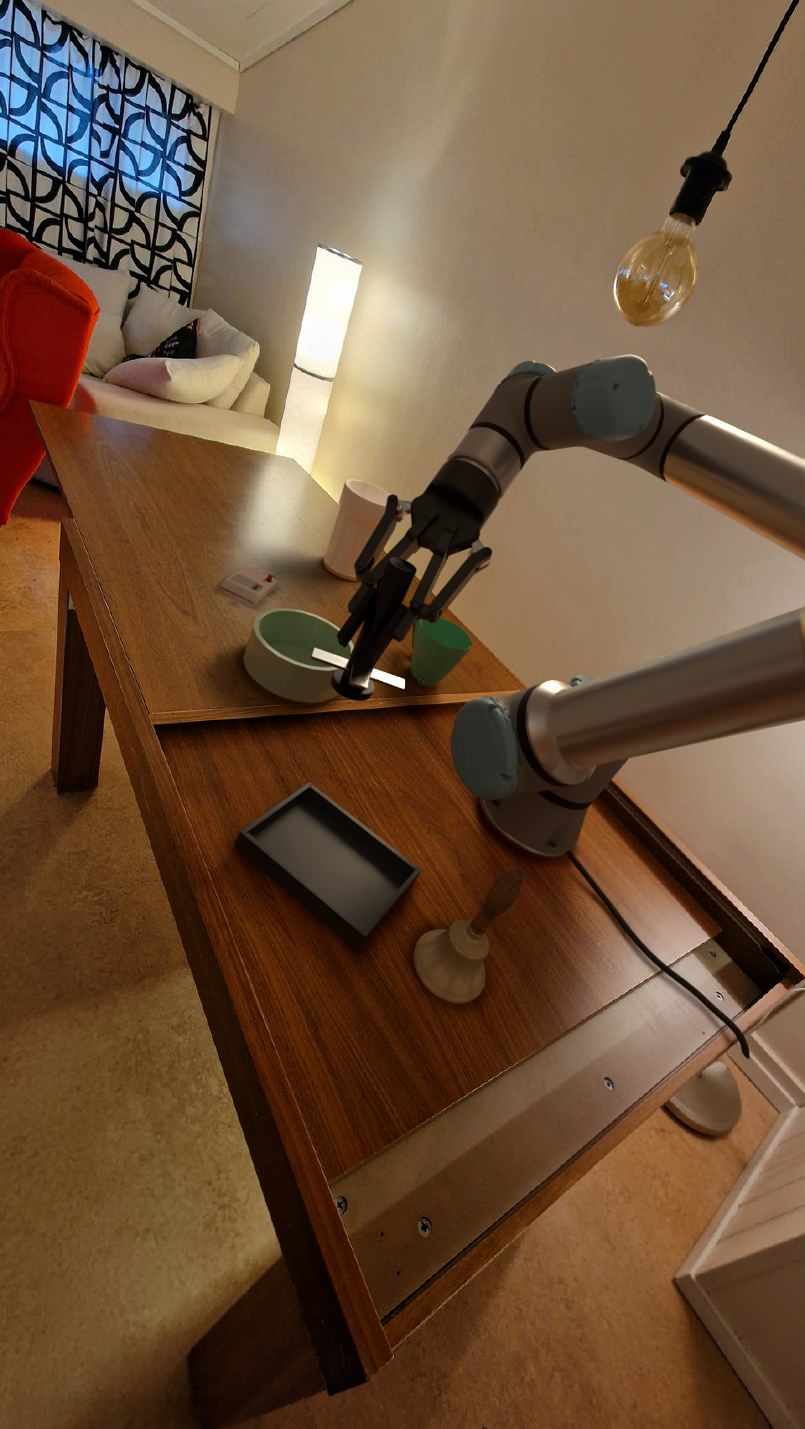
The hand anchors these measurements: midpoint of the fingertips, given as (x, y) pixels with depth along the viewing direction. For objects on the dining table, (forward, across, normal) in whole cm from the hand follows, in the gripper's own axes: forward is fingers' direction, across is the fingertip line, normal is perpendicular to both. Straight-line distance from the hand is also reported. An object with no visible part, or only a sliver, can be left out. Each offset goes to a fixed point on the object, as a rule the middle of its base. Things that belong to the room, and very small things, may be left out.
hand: (356, 650), depth 65 cm
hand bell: (+22, -25, -10) cm, 35 cm away
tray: (+20, -8, -11) cm, 25 cm away
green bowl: (0, +14, -30) cm, 34 cm away
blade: (+2, 0, -8) cm, 8 cm away
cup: (-29, +29, -60) cm, 73 cm away
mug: (-15, +1, -46) cm, 48 cm away
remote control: (-11, +34, -41) cm, 54 cm away
